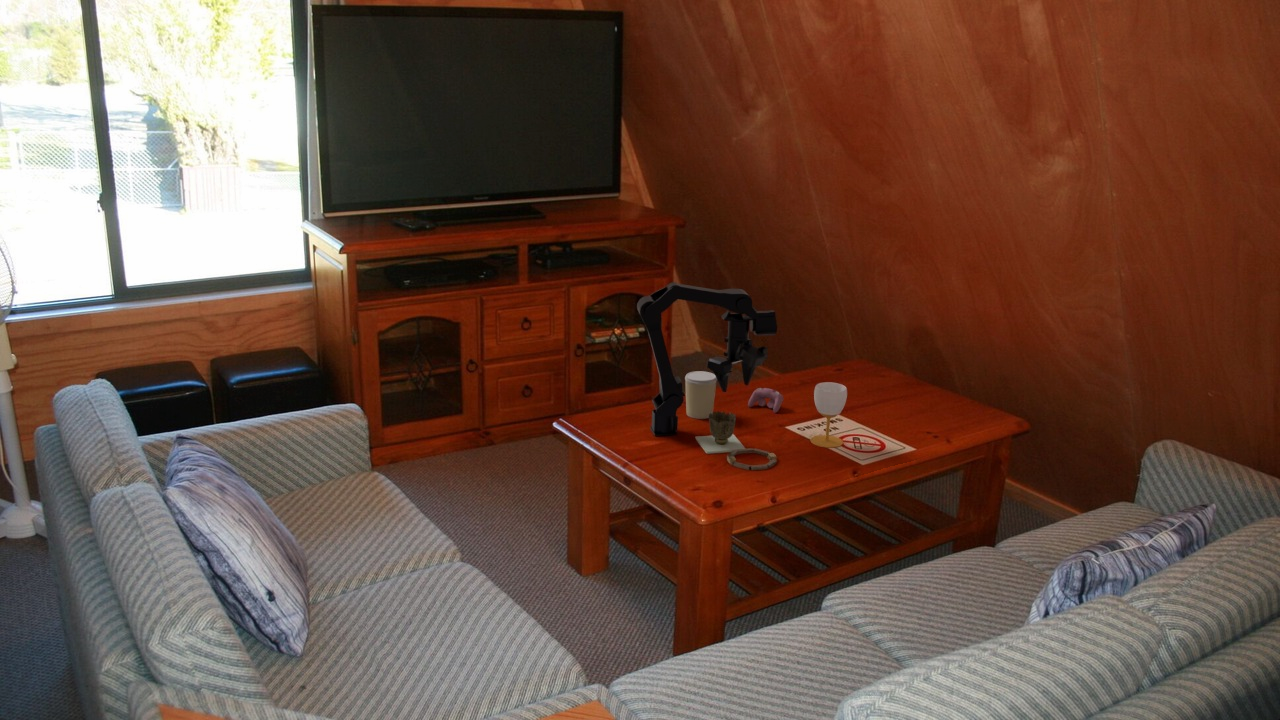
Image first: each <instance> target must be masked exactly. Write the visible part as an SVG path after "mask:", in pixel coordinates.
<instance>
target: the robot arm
mask: <svg viewBox="0 0 1280 720" xmlns="http://www.w3.org/2000/svg"><path fill="white" fill-rule="evenodd" d="M678 300H681V301H687V302H691V303H692V302H694V303H700V304H706V305H713V306H717V307H721V308H723V309H725V310H726V311H725V312H724V313H723V314H722V315H721V319H723V320H722V321H725V322H728V328H727V331H728V332H727V337H724V342H725V343H727V344H726V345H727V346H726V347H727V349H726V351H723V356H724V357H722V356H718V355H717V356H714V357H709V359H707V361H706V365H707V366H706V368H707V369H709V370H710V371H712V372H713V374H714V375H715V376H716V378H717V382H718V384H719V387H720V389H721V391H722V393H727V390H728V383H729V376H730V375H731V374H732V373H733V370H732V368H733V365H735V364H737V363H741V370H742V378H743V383H744V386H749V384H750V382H751V379H752V377H753V375H754V372H755V370H756V368H757V367H762V365H763V362H765V361H766V360H767V359H768V354H769V353H768V352H769V351H768V347H766V346H765V345H763V346H759V347H758V346H756V347H755V346H754V345H753V341H752V339H750V338H749V335H750V334H749V333H750V332H752V333H753V334H754V336H776V334H777V331H778V324H777V323H778V322H777V317H776V312H775V310H773V309H772V310H771V309H770V310H756V309H755V307H753V300H752V298H751V296H750V295H749V294H748V293H747V292H746V291H745V290H744V289H741V288H724V289H715V288H714V289H713V288H708V287H707V288H706V287H701V286H694V285H688V284H682V283H678V282H674V281H672V282H670V283H669V284H667V285H666V286H664V287H662V288H660V289H658V290H655V291H654V292H652V293H651V294H650V295H644V296H642V297H641V298H640V299H639V300H638V302H637V304H636V309H637V311H638V313H639V315H640V318H641V319H642V322H643V323H644V326H645V328H646V330H647V334H648V337H649V341H650V345H651V348H652V353H653V357H654V360H655V364H656V368H657V372H658V375H659V376H658V377H659V381H658V383H659V387H658V388H659V393H658V394H656V396H655V397H654V398H652V404H653V407H654V408H655V409H652V410H651V411H652V412H651V426H649V428H650V431H651V432H652V434H653V435H654V436H655V437H659V436H660V437H663V436H664V437H665V436H675V435H676V436H678V432H677V431H678V430H679V429H678V428H679V427H678V426H679V423H678V422H679V417H678V415H677V411H678V409H679V408H680V407H682V406H683V404H684V402H685V401H684V400H685V398H684V397H686V393H685V391H684V390H683V383H682V380H681V378H680V377H679V375H678V376H677V375H676V376H674V374H673V369H672V365H671V362H670V357H669V354H668V350H667V346H666V343H665V338H664V334H663V330H662V328H663V327H662V322H663V321H662V313H664V312H665V311H666V310H668V308H669V307H671V306H672V305H673V303H675V302H676V301H678Z"/></svg>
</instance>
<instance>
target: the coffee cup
mask: <svg viewBox="0 0 1280 720" xmlns="http://www.w3.org/2000/svg"><path fill="white" fill-rule="evenodd" d="M684 380H685V407H686V408H685V411H686V416H687V417H689V418H691V419H699V420H700V419H701V420H705V419H709V414H710V413H711V414H712V413H713V412H714V404H715V399H716V398H715V396H716V388H717V387H716V386H717V382H718V380H717V378H716V376H715V374H714V372H713V373H712V372H710V371H709V372H708V371H705V370H704V371H703V370H702V371H700V370H699V371H690V372H688V373H686V375H685V377H684Z"/></svg>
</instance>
